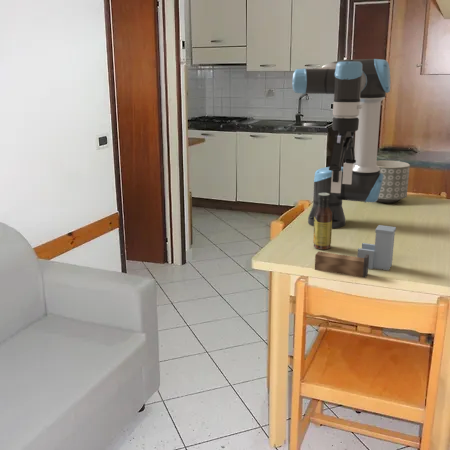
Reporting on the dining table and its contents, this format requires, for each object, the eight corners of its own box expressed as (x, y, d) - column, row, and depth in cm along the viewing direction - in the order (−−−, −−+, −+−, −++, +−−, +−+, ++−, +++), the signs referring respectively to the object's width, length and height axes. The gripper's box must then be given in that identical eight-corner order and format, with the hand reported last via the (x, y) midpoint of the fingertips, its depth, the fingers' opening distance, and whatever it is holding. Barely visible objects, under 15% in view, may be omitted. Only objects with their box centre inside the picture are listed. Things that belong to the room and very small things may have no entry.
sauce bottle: (318, 243, 194) (321, 190, 188) (334, 247, 190) (337, 193, 185) (309, 248, 189) (311, 193, 184) (325, 251, 185) (327, 196, 180)
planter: (357, 197, 262) (360, 161, 257) (390, 195, 267) (394, 159, 262) (379, 207, 245) (382, 168, 239) (414, 204, 250) (418, 165, 245)
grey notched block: (356, 266, 171) (359, 228, 168) (361, 259, 178) (364, 222, 174) (389, 271, 167) (392, 232, 163) (392, 264, 173) (396, 226, 170)
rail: (314, 269, 169) (315, 250, 167) (317, 265, 172) (318, 247, 170) (365, 277, 162) (366, 258, 161) (367, 273, 166) (369, 254, 164)
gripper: (348, 120, 142) (343, 198, 148) (367, 114, 164) (362, 181, 170) (321, 119, 145) (317, 195, 151) (343, 113, 167) (339, 179, 173)
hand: (341, 188), depth 160 cm, fingers open, 13 cm apart
